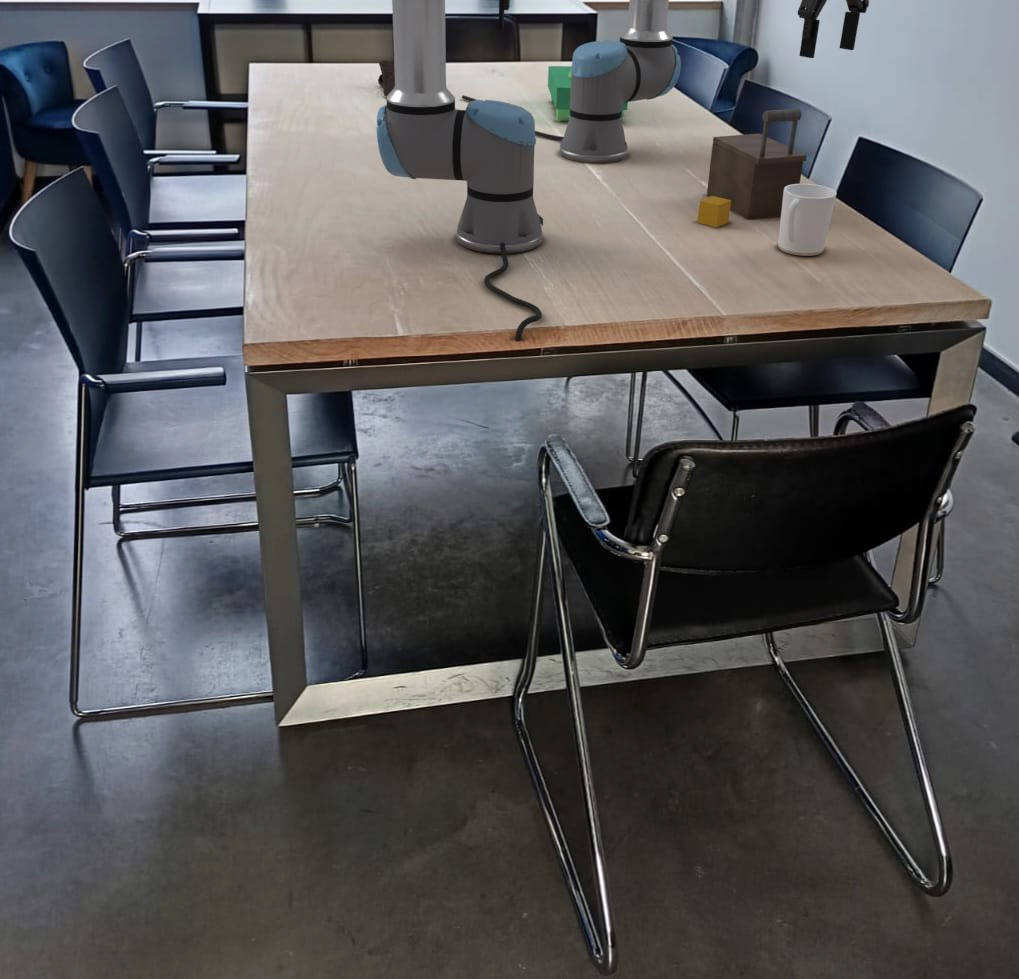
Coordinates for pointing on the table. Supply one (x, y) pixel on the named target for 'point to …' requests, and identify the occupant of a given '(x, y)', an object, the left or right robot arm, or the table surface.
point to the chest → (750, 183)
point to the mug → (805, 218)
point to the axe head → (387, 76)
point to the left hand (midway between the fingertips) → (468, 26)
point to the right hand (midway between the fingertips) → (826, 53)
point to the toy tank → (563, 91)
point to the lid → (765, 141)
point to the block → (714, 211)
